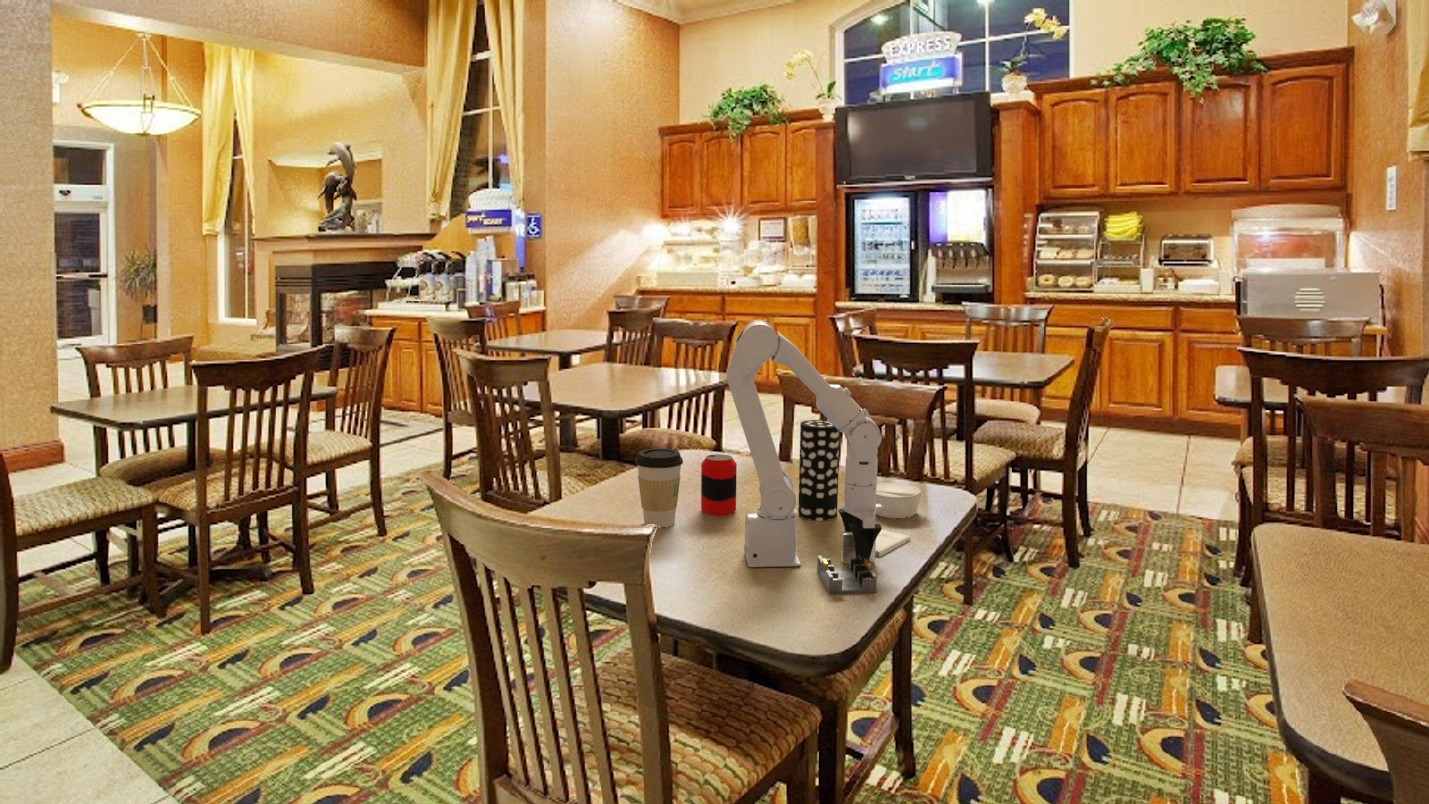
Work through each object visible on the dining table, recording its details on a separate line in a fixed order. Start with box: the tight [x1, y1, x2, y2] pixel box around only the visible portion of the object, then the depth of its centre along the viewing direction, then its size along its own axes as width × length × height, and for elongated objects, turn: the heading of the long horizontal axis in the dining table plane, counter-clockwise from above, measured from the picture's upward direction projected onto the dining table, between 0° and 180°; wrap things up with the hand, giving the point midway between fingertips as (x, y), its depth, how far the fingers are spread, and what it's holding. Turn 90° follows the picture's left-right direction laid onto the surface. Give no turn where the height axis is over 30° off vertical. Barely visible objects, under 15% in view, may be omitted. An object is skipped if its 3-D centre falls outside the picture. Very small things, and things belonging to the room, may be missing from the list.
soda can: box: [700, 453, 738, 517], centre depth 197 cm, size 8×8×12 cm
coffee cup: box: [634, 447, 684, 528], centre depth 188 cm, size 10×10×15 cm
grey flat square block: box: [840, 531, 876, 564], centre depth 168 cm, size 6×2×6 cm, turn 95°
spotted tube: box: [797, 419, 841, 522], centre depth 194 cm, size 8×8×20 cm
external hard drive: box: [875, 529, 911, 558], centre depth 178 cm, size 2×8×12 cm
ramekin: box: [875, 482, 922, 519], centre depth 198 cm, size 11×11×5 cm
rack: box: [816, 554, 878, 595], centre depth 158 cm, size 8×10×4 cm
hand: (858, 553), depth 168 cm, fingers open, 7 cm apart
